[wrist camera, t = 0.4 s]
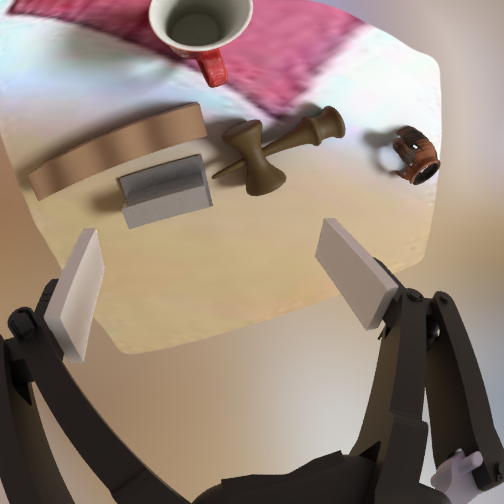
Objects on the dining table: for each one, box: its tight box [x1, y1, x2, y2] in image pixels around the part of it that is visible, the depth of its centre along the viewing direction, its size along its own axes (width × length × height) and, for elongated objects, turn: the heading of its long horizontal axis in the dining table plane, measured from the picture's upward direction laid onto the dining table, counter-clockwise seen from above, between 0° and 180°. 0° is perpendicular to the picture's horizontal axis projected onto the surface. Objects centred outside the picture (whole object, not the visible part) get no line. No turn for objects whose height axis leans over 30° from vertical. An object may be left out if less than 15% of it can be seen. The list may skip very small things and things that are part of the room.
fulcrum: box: [120, 154, 213, 229], centre depth 36 cm, size 8×12×6 cm, turn 98°
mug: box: [148, 0, 253, 88], centre depth 22 cm, size 13×9×14 cm
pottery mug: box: [393, 127, 440, 185], centre depth 41 cm, size 12×10×8 cm
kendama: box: [212, 106, 345, 196], centre depth 36 cm, size 6×10×20 cm
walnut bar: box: [27, 102, 207, 201], centre depth 30 cm, size 24×4×6 cm, turn 100°
